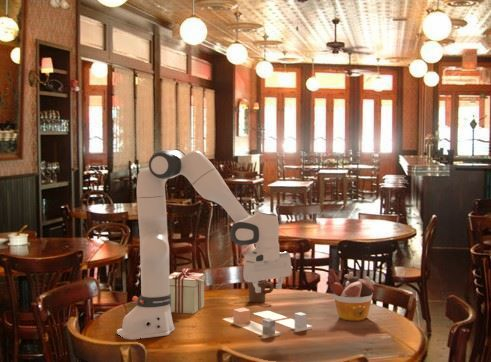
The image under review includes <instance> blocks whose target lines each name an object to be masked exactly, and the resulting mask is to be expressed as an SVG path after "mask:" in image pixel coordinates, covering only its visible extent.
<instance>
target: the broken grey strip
mask: <svg viewBox="0 0 491 362" xmlns="http://www.w3.org/2000/svg"><path fill="white" fill-rule="evenodd" d="M253 315H255V316H258V317H261V318H262V319H267V318H270V319H273V320H275V323H278V325H279V324H280V325H281V326H282V325H283V326H285V327H288V328H290V331H291V332H293V333H294V332H295V333H297V332H302V331H308V330H312V329H313V325H311V324H310V325H309V324H308V323H307V322H308V317H307V316H308V315H307V313H304V312H301V311H299V312H295V313H294V319H293V318H288V316H285V315H282V314H280V313H276V312H274V311H270V310H263V311H257V312H253Z"/></svg>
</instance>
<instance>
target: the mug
mask: <svg viewBox="0 0 491 362" xmlns="http://www.w3.org/2000/svg"><path fill="white" fill-rule="evenodd" d="M257 285H258V287H259V288H261V292H260V293H256V292H255V287H254V285H253V284H252V282H248V301H249V302H250V303H253V304H254V303H255V304H257V303H258V304H259V303H260V304H261V303H264V302H265V301H266V295H267V294H271V293H272V292H273V291H274V284H273V283H272V282H270V281H268V282H266V280H261V281H258V284H257ZM266 287H269V289H266Z"/></svg>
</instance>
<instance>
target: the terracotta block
mask: <svg viewBox="0 0 491 362" xmlns="http://www.w3.org/2000/svg"><path fill="white" fill-rule="evenodd" d="M232 313H233V314H232V315H233V316H232V317H233V322H235V323H238V324H245V323H251V321H252V320H251V309H248V308H246V307H239V308H234V309H233V310H232Z"/></svg>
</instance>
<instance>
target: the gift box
mask: <svg viewBox="0 0 491 362" xmlns="http://www.w3.org/2000/svg"><path fill="white" fill-rule="evenodd" d="M191 270H192V268H182V269H181V272H175V271H174V272H173V273H169V285H170V294H171V307H170V308H171V313H178V314H179V313H180V314H196V313H197V312H199V311H200V310H201V309H203V308H204V307H205V282H206V272H203V273H202V272H201V273H200V272H190V271H191Z"/></svg>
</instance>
